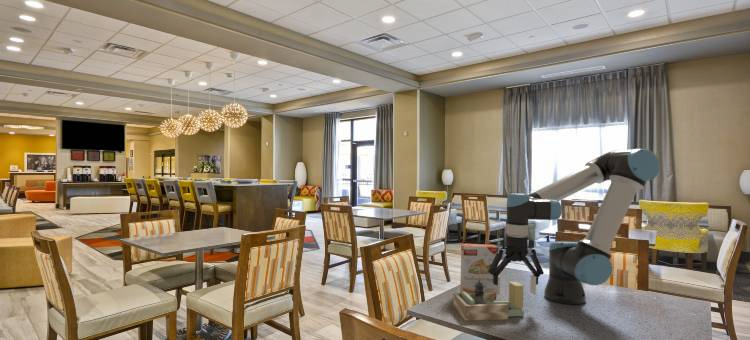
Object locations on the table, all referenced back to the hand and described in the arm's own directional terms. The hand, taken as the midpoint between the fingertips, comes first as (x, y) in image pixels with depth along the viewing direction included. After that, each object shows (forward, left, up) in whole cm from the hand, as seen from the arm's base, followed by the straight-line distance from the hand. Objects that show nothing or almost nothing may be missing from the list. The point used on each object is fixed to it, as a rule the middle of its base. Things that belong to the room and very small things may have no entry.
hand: (515, 293), depth 144 cm
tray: (+8, 0, -6) cm, 10 cm away
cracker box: (+7, -19, -7) cm, 21 cm away
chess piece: (+14, 0, -7) cm, 15 cm away
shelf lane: (+13, 0, -7) cm, 15 cm away
